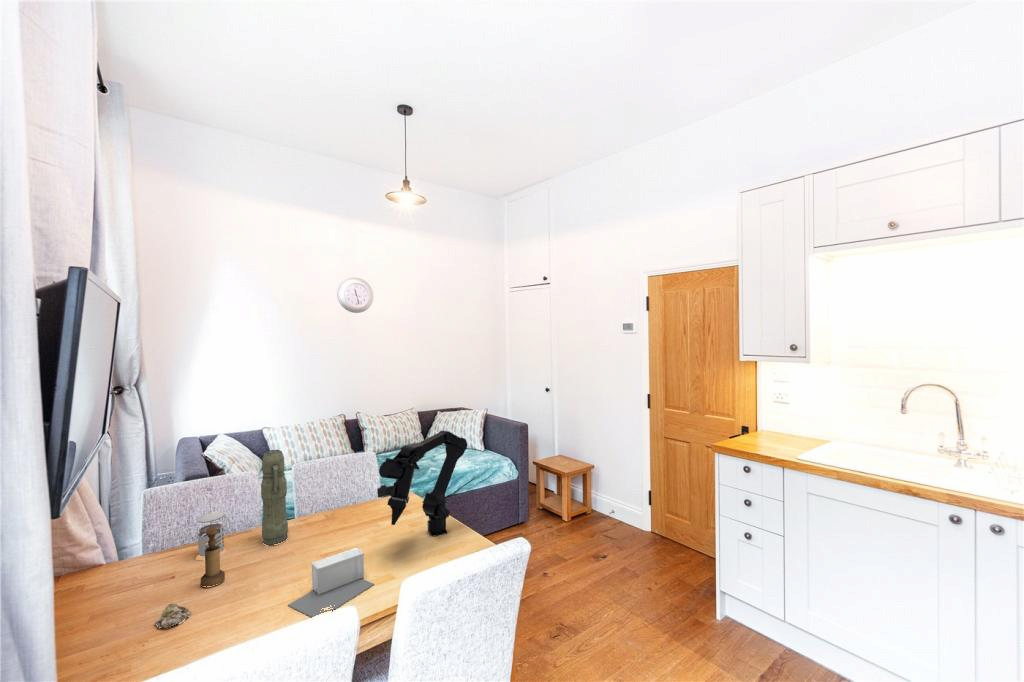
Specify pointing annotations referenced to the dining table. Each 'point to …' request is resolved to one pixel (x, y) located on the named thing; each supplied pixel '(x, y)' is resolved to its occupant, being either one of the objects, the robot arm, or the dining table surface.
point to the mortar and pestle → (212, 561)
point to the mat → (329, 598)
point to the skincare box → (337, 570)
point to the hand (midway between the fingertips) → (392, 524)
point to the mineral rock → (172, 615)
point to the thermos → (274, 498)
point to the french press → (209, 518)
